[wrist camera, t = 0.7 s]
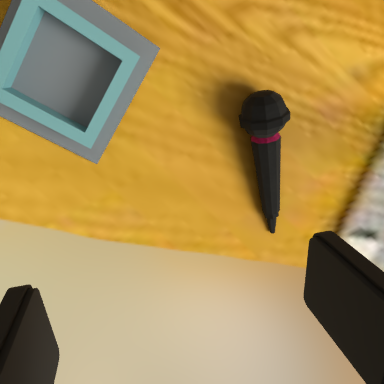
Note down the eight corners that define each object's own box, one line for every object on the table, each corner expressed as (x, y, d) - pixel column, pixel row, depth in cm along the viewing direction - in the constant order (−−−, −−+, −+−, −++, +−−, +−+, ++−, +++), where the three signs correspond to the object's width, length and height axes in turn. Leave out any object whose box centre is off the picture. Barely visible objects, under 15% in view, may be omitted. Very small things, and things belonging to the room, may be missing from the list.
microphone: (272, 214, 46) (262, 81, 36) (302, 232, 42) (300, 86, 31) (244, 231, 44) (225, 96, 34) (273, 252, 40) (261, 103, 29)
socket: (32, -41, 27) (21, -54, 24) (159, 48, 32) (163, 46, 29) (-27, 100, 30) (-44, 103, 27) (97, 162, 35) (95, 171, 32)
